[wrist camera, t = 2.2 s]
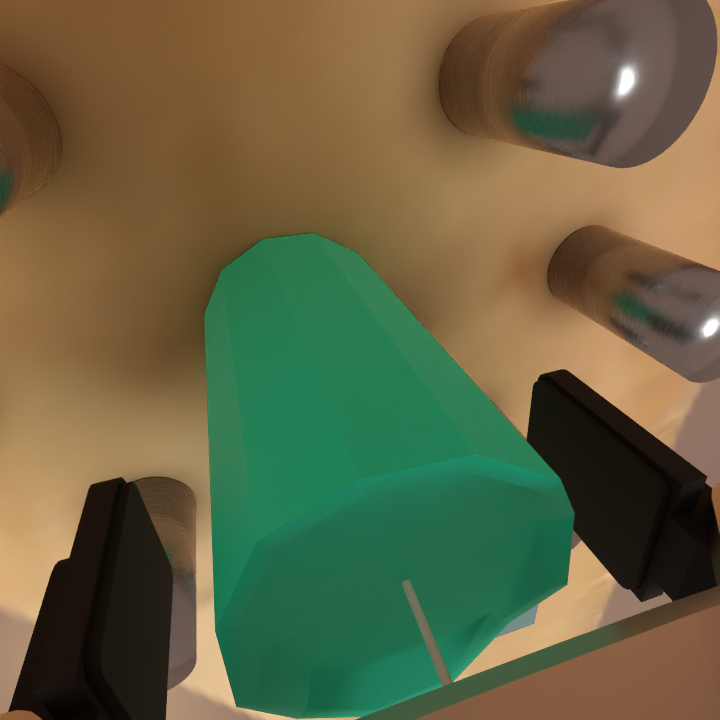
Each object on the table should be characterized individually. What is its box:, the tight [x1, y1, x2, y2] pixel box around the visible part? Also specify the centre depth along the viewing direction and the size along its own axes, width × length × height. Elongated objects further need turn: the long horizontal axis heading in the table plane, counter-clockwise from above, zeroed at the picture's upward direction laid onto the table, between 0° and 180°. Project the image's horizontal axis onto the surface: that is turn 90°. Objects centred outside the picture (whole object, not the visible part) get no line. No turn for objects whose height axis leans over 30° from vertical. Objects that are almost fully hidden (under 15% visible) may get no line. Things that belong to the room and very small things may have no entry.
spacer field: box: [0, 0, 720, 690], centre depth 14 cm, size 16×25×6 cm, turn 95°
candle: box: [204, 233, 575, 719], centre depth 11 cm, size 6×6×12 cm
